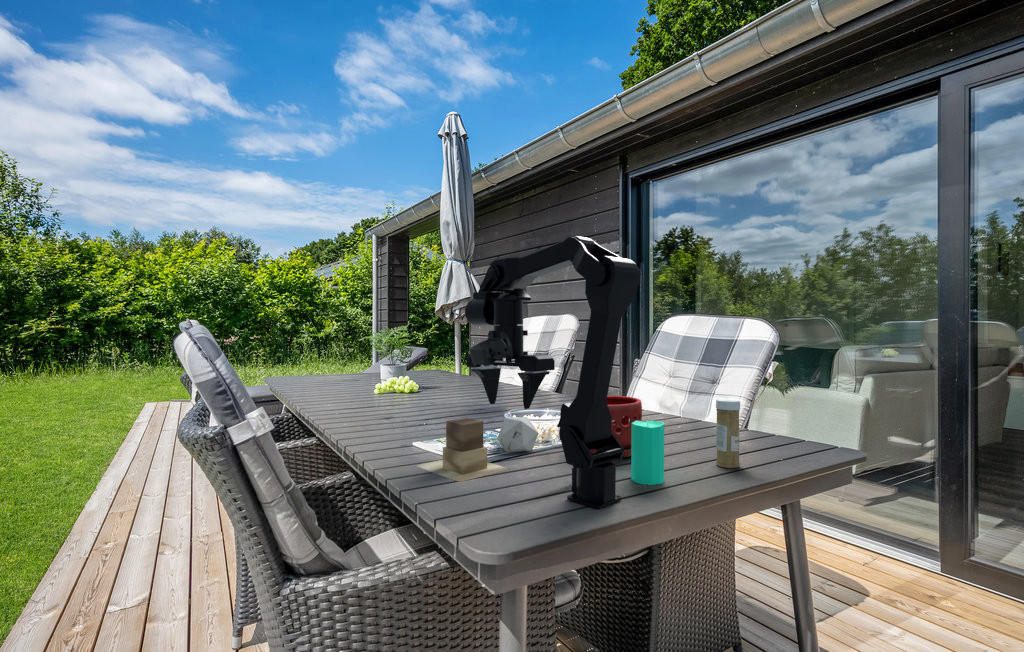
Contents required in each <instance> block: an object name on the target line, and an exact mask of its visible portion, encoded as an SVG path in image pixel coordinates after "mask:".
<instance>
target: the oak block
mask: <svg viewBox="0 0 1024 652" xmlns="http://www.w3.org/2000/svg"><path fill="white" fill-rule="evenodd" d="M442 459H443V468H444V469H447V470H450V471H453V472H456V473H459V474H462V475H464V474H468V473H471V472H475V471H479V470H483V469H487V462H488V447H487V446H484V445H483V448H479V449H474V450H470V451H465V452H461V451H457V450H454V449H451V448H447V447H446V446H442Z"/></svg>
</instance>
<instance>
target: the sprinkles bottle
mask: <svg viewBox="0 0 1024 652" xmlns="http://www.w3.org/2000/svg"><path fill="white" fill-rule="evenodd" d="M715 408H716V410H715V411H716V431H715V433H716V434H715V436H716V439H715V443H716V446H715V447H716V460H715V465H717V466H718V467H721V468H725V469H737V468H739V467H740V465H741V463H740V410H741V401H740V399H735V398H728V397H725V398H724V397H723V398H722V397H721V398H716V400H715Z"/></svg>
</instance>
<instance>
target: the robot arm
mask: <svg viewBox="0 0 1024 652" xmlns="http://www.w3.org/2000/svg"><path fill="white" fill-rule="evenodd" d="M571 266H573V268H574V270H575V271H576V273H578V274H579V275H580V276H581V277H582V278H584V280H585V283H584V285H585V287H584V288H585V289H584V291H585V292H584V294H585V297H586V300H587V303H588V306H589V309H590V315H589V321H588V328H587V333H586V340H585V344H584V350H583V355H582V360H581V361H582V362H581V368H580V373H579V379H578V385H577V390H576V395H575V398H574V399H573V400H572V402H565V403H562V404H561V407H560V411H559V414H560V415H559V416H560V418H559V421H558V423H557V425H556V427H557V428H559V430H558V432H559V433H558V437H559V441H560V442H561V447H562V450H563V453H564V458H565V462H566V464H567V465H570V466H572V468H571V494H568V495H567V496H566V499H567V500H569V501H573V502H576V503H578V504H581V505H584V506H588V507H591V508H594V509H602V508H604V507H606V506H610V505H611V504H615V503H617V502H619V501H621V500H622V496H621V495H618V494H616V486H617V485H616V482H617V481H616V479H617V478H616V477H617V475H616V474H617V473H616V472H617V468H616V467H617V465H616V463H615V462H617V461H622V460H623V458H624V457H623V454H624V448H623V446H622V445H621V443H620V442H619V441H618V439H617V438H616V436H615V435H614V433H613V432H612V431H611V425H612V422H613V420H612V416H611V413H610V410H609V407H608V405H607V396H609V395H608V392H609V388H610V382H611V378H612V373H613V368H614V367H613V366H614V362H615V361H614V360H615V355H616V351H617V346H618V345H617V344H618V338H619V335H620V334H619V333H620V329H621V328H620V327H621V322H622V318H623V315H624V314H625V312H626V311H627V309H628V308H629V306H630V305H631V304H632V303H633V301H634V300H635V297H636V294H637V290H638V287H639V286H640V283H641V273H642V272H641V269H640V268H639V267H638V265H637V263H636V262H635V261H633V259H629V258H624V257H621V256H619V254H616V253H614V252H613V251H610V250H609V249H607V248H605V247H603V246H601V245H600V244H599V243H597V242H596V241H595V240H593V239H592V238H589V237H586V236H585V237H584V236H577V235H570V236H568V237H567V238H565V239H564V240H562V241H559V242H556V243H554V244H552V245H549V246H547V247H544V248H541V249H539V250H536V251H534V252H531V253H529V254H526V255H523V256H519V257H518V256H517V257H501V258H496V259H493V260H492V261H491V262H490V264H489V267H488V268H487V270H486V273H485V276H484V278H483V280H482V282H481V284H480V285H479V289H478V291H475V292H474V291H473V293H472V298H471V299H470V300H469V301H468V302H467V303H466V306H465V309H464V315H465V318H466V321H467V322H468V323H470V324H471V325H472V326H493V330H489V331H488V334H487V339H486V340H483V341H481V342H479V343H477V344H474V345H472V346H471V347H469V349H468V350H469V354H468V355H467V356H466V368H471V369H470V371H471V372H472V373H473V372H474V373H475V375H477V376H478V377H479V378H480V380H481V382H482V385H483V388H484V391H485V394H486V396H487V399H488V402H489V404H490V405H495V404H496V402H497V401H496V400H497V397H498V389H499V384H500V378H501V373H502V371H501V370H502V368H501V366H502V367H517V368H518V369H519V370H520V371H521V372H517V375H518V376H519V378H520V380H521V382H522V383H521V385H522V404H523V409H524V410H529V409H530V407H531V405H532V404H533V403H532V402H533V401H534V398H535V396H536V394H537V392H538V389H540V387H541V384H542V383H543V381H544V379H545V377H546V375H549V374H550V371H555V367H556V366H555V359H554V357H553V356H552V355H551V354H528V353H529V352H528V351H524V336H525V337H526V336H529V335H528V334H529V333H528V330H527V329H526V330H525V329H524V302H529V301H530V302H531V301H532V297H531V296H530V295H529V294H528V293H527V292H526V291H525V290H524V289H525V288H527V287H529V286H531V285H532V284H533V283H534V280H536V279H537V278H539V277H543V276H545V275H548V274H551V273H553V272H556V271H559V270H562V269H565V268H568V267H571ZM504 359H505V360H504ZM498 366H500V367H498ZM595 449H596V451H597V452H595V453H591V452H590V451H591V450H595Z"/></svg>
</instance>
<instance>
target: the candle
mask: <svg viewBox="0 0 1024 652" xmlns="http://www.w3.org/2000/svg"><path fill="white" fill-rule="evenodd" d="M630 457H631V458H630V459H631V463H630V464H631V465H630V466H631V467H630V475H631V476H630V481H633V482H634V483H637V484H641V485H646V484H648V485H647V486H649V485H650V486H654V485H656V484H657V485H661V484H663V483H665V422H663V421H660V420H646V421H643V420H641V421H635V422H633V423H632V429H631V456H630Z"/></svg>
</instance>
